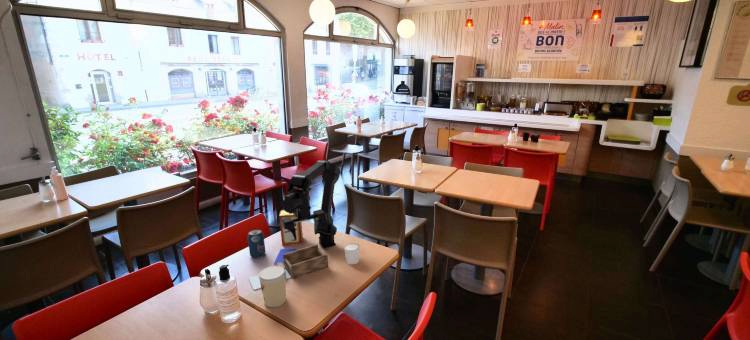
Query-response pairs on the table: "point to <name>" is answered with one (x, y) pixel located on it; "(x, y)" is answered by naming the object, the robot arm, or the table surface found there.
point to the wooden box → (305, 261)
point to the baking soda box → (286, 234)
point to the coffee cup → (273, 285)
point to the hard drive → (280, 255)
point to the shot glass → (352, 253)
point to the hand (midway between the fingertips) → (305, 237)
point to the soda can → (256, 243)
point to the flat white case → (256, 282)
